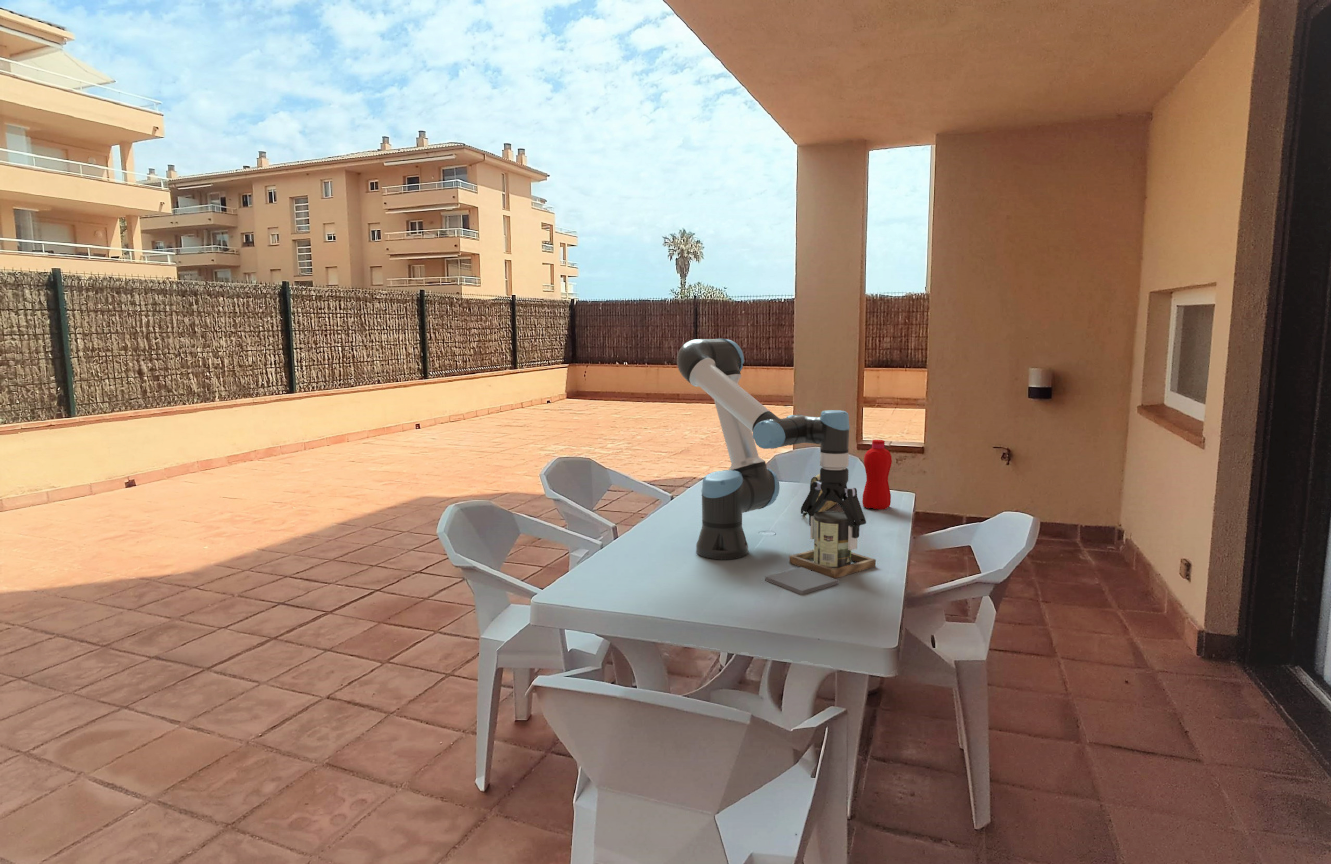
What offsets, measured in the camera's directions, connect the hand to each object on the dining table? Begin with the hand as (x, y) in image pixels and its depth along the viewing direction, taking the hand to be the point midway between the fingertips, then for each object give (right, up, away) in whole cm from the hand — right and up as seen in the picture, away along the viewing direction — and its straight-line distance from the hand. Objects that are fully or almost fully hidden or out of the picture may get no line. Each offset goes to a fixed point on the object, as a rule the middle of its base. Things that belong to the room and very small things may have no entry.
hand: (833, 543), depth 198 cm
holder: (0, -6, +1) cm, 6 cm away
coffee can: (0, -6, +1) cm, 6 cm away
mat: (-11, -8, -13) cm, 19 cm away
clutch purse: (+10, +2, +62) cm, 63 cm away
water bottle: (+32, +3, +67) cm, 74 cm away
